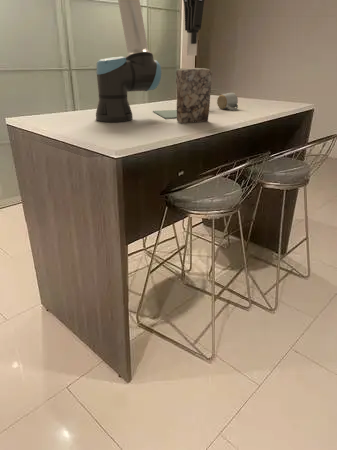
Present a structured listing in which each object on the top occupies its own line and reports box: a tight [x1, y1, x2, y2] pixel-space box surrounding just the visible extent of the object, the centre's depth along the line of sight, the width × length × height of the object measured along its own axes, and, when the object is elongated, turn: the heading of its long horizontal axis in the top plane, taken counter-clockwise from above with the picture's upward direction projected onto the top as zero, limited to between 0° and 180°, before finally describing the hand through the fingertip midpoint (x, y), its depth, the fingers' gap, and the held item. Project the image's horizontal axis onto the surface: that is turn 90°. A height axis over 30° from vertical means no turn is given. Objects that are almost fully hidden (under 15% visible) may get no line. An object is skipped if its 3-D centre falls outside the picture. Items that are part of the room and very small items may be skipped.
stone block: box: [175, 67, 213, 124], centre depth 135 cm, size 13×7×20 cm, turn 120°
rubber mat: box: [152, 109, 177, 120], centre depth 156 cm, size 18×20×1 cm
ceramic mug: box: [216, 92, 239, 111], centre depth 171 cm, size 11×8×8 cm
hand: (191, 55), depth 112 cm, fingers closed
